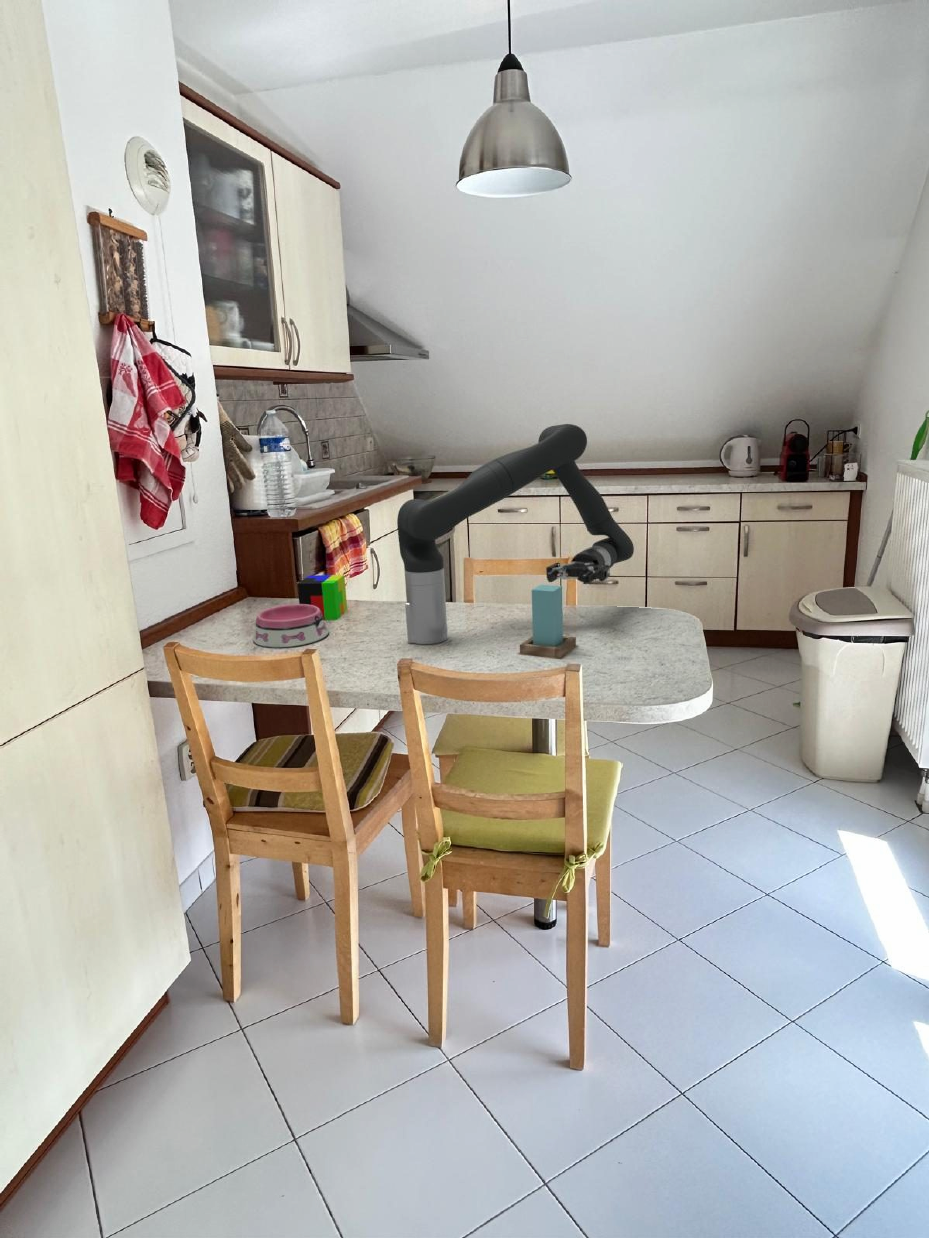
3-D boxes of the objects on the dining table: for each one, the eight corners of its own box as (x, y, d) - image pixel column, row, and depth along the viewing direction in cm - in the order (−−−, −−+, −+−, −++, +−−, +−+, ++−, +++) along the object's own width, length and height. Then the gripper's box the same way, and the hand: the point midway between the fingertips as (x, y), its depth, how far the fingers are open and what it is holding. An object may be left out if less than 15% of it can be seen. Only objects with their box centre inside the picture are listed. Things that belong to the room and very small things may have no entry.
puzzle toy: (312, 610, 230) (309, 575, 228) (347, 610, 229) (344, 574, 226) (300, 620, 221) (297, 583, 218) (337, 619, 219) (333, 583, 217)
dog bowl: (313, 650, 195) (310, 622, 193) (240, 648, 198) (236, 621, 197) (339, 628, 212) (337, 602, 210) (272, 627, 216) (269, 602, 214)
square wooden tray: (517, 658, 180) (516, 645, 180) (536, 645, 189) (535, 632, 188) (561, 663, 176) (561, 650, 175) (578, 649, 184) (578, 636, 184)
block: (533, 651, 181) (531, 589, 178) (542, 645, 185) (540, 584, 182) (554, 654, 179) (553, 591, 175) (563, 647, 183) (562, 586, 179)
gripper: (563, 547, 204) (537, 561, 190) (619, 549, 197) (596, 564, 184) (564, 577, 206) (538, 593, 192) (619, 580, 199) (597, 596, 186)
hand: (566, 578), depth 188 cm, fingers open, 8 cm apart
